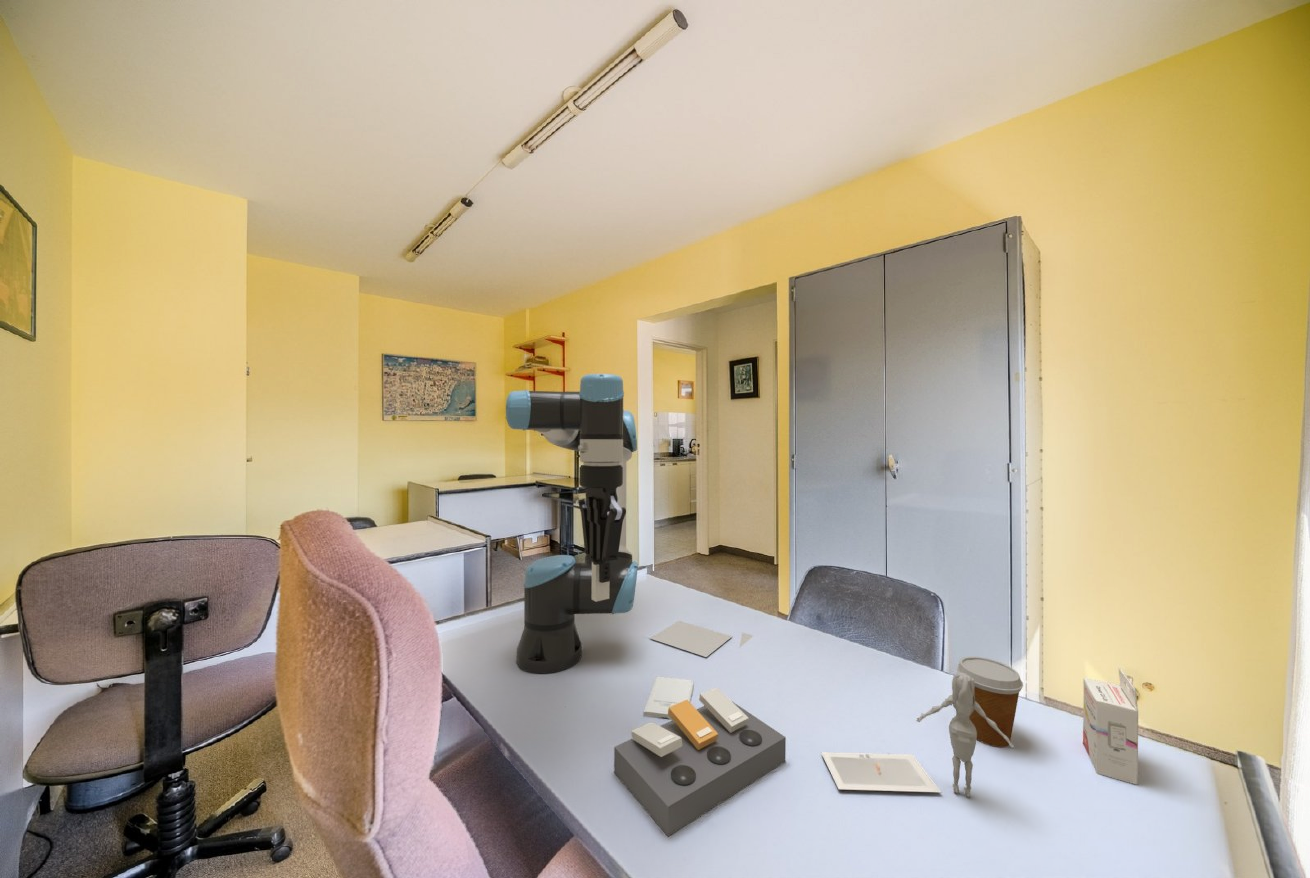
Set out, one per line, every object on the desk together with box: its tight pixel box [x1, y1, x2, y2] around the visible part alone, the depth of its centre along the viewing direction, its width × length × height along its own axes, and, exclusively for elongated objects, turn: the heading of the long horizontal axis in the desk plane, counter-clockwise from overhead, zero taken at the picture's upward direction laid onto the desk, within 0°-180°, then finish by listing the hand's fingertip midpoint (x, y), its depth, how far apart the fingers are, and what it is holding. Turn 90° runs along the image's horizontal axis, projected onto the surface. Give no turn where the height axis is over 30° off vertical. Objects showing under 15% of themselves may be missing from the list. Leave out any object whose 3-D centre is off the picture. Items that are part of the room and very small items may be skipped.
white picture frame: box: [820, 751, 942, 793], centre depth 71 cm, size 8×15×2 cm, turn 88°
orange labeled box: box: [668, 700, 718, 750], centre depth 74 cm, size 8×4×1 cm, turn 35°
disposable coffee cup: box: [956, 656, 1024, 748], centre depth 81 cm, size 10×10×12 cm
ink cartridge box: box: [1082, 667, 1139, 786], centre depth 74 cm, size 9×5×15 cm, turn 148°
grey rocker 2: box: [698, 686, 749, 733], centre depth 78 cm, size 8×4×1 cm, turn 35°
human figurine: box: [915, 671, 1015, 798], centre depth 67 cm, size 12×4×18 cm, turn 61°
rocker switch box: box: [613, 701, 787, 837], centre depth 73 cm, size 14×24×4 cm, turn 126°
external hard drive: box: [642, 676, 695, 721], centre depth 91 cm, size 2×8×12 cm
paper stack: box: [649, 620, 754, 658], centre depth 120 cm, size 23×25×1 cm
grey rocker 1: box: [631, 721, 682, 757], centre depth 71 cm, size 8×4×1 cm, turn 36°
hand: (600, 598), depth 79 cm, fingers closed
